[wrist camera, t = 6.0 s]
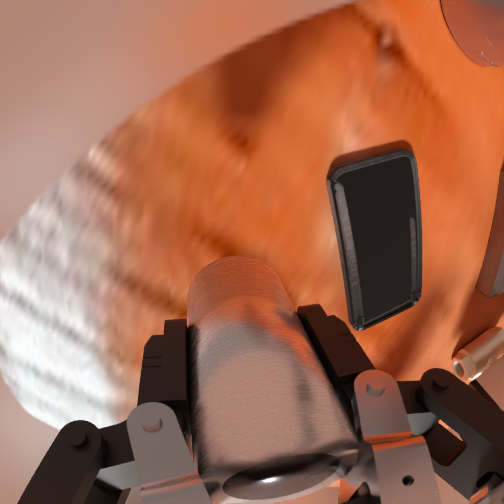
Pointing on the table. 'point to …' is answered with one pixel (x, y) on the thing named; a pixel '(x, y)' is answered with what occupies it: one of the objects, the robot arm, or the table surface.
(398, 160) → the phone
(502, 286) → the grey board with holes
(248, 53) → the table surface
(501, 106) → the table surface
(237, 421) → the flashlight
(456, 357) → the security camera
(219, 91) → the table surface
